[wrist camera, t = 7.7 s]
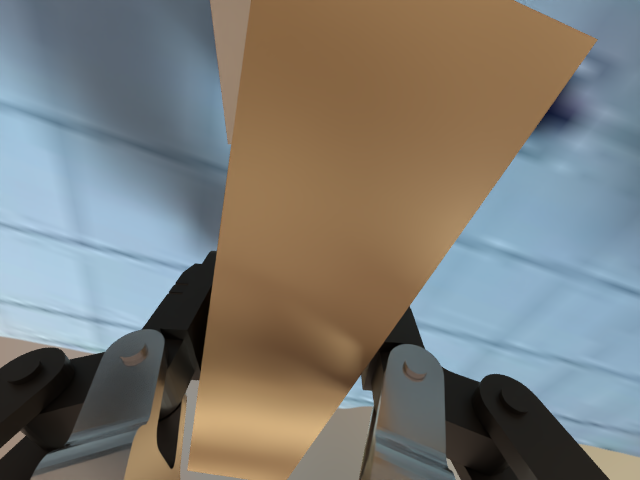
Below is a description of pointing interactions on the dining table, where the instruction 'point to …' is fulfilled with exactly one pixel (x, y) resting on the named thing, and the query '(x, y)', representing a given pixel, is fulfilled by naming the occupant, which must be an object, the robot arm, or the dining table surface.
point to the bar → (352, 196)
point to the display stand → (230, 51)
